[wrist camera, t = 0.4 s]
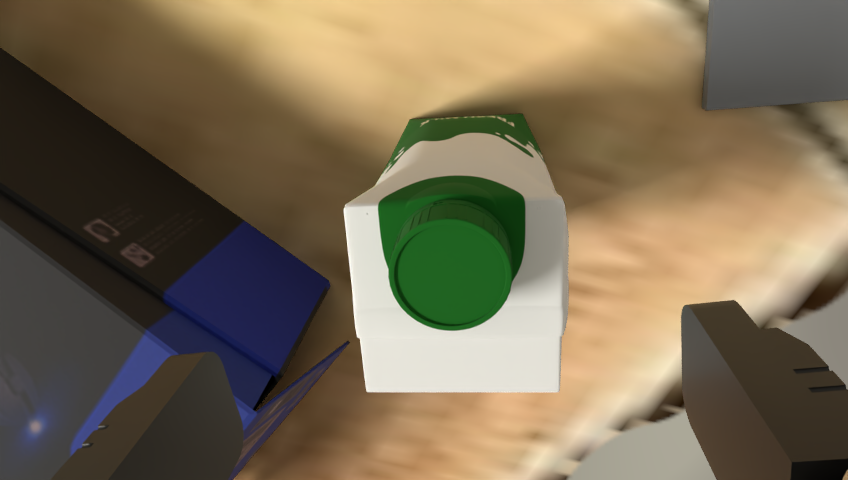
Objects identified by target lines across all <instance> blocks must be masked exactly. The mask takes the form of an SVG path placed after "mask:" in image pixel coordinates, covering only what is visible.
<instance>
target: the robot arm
mask: <svg viewBox="0 0 848 480" xmlns="http://www.w3.org/2000/svg"><path fill="white" fill-rule="evenodd" d="M681 336H682V390H683V398H684V404H685V409H686V413H687V416H688V419H689V422H690V425H691V427H692V429H693V431H694V433H695V435H696V438H697V439H698V442H699V444H700V446H701V448H702V450H703V452H704V454H705V456H706V458H707V460H708V462H709V465H710V467H711V469H712V471H713V473H714V475H715V477H716V479H717V480H848V390H847V389H846V385H845V384H844V383H843V382H842V381H841V379H840V378H839V377H838V376H837V375H836V374H835V373H834V372H833V371H829V367H828V365H827V364H826V363H825V362H824V361H823V360H822V359H821V358H820V357H819V356H818V355H817V353H816V352H815V351H814V350H813V349H812V348H811V347H810V346H809V345H808V344H806V343H804V342H802V341H801V340H799V339H797V338H795V337H793V336H791V335H790V334H788V333H786V332H784V331H782V330H780V329H778V328H769V329H759V328H758V327H757V325H756V324H755V323H754V322H753V320H752V319H751V318H750V317H749V316H748V314H747V313H746V312H745V311H744V309H743V308H742V307H741V306H740V305H739V304H738V303H737V302H736V301H734V300H730V301H720V302H710V303H700V304H690V305H685V306H684V307H683V309H682V315H681ZM243 439H244V432H243V424H242V420H241V417H240V414H239V411H238V408H237V405H236V402H235V399H234V396H233V393H232V390H231V387H230V384H229V381H228V378H227V375H226V372H225V369H224V366H223V364H222V361H221V359H220V357H219V356H218V355H217V354H216V353H214V352H201V353H191V354H181V355H173V356H170V357H168V358H167V359H166V360H165V361H164V362H163V364H162V365H161V366H160V367H159V368H158V369H157V370H156V372H155V373H154V374H153V375H152V376H151V377H150V379H149V380H148V381H147V382H146V383H145V384H144V386H142V387H141V388H139V389H138V390H137V391H135V392H134V393H132V394H131V395H130V396H128V397H127V398H125V399H124V400H123V401H121V402H120V403H118V404H117V405H116V406H115V407H114V408H113V409H112V411H111V412H110V413H109V414H108V415H107V416H106V417H105V418H104V420H103V421H102V422H101V423H100V424H99V425H98V430H94V431H93V432H92V433H91V434H90V435H89V437H88V438H87V439H86V440H85V441H84V442H83V443H82V448H78V449H77V450H76V451H75V452H74V453H73V455H72V456H71V457H70V458H69V459H68V460H67V461H66V463H65V464H64V465H63V466H62V467H61V468H60V469H59V470H58V472H57V473H56V474H55V475H54V476H53V477H52V478H51V479H50V480H228V479H229V477H230V475H231V473H232V471H233V469H234V467H235V465H236V463H237V462H238V460H239V457H240V455H241V452H242V448H243Z"/></svg>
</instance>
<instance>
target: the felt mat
mask: <svg viewBox="0 0 848 480" xmlns="http://www.w3.org/2000/svg"><path fill="white" fill-rule="evenodd" d="M838 100H848V0H709V14H708V28H707V42H706V56H705V70H704V84H703V98H702V109H704V110H719V109H733V108H746V107H759V106H772V105H785V104H798V103H812V102H825V101H838Z"/></svg>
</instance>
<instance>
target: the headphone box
mask: <svg viewBox="0 0 848 480" xmlns="http://www.w3.org/2000/svg"><path fill="white" fill-rule="evenodd" d="M329 287H330V283H329V280H327V279H326V278H324V277H323V276H322V275H320V274H319V273H317V272H316V271H315V270H313V269H312V268H310V267H309V266H307V265H306V264H305V263H303V262H302V261H300V260H299V259H298V258H296V257H295V256H293V255H292V254H291V253H289V252H288V251H286V250H285V249H283V248H282V247H281V246H279V245H278V244H276V243H275V242H274V241H272V240H271V239H269V238H268V237H267V236H265V235H264V234H262V233H261V232H260V231H258V230H257V229H255V228H254V227H252V226H251V225H250V224H248V223H247V222H245V221H244V220H243V219H241V218H240V217H238V216H237V215H236V214H234V213H233V212H231V211H230V210H228V209H227V208H226V207H224V206H223V205H221V204H220V203H219V202H217V201H216V200H214V199H213V198H212V197H210V196H209V195H207V194H206V193H205V192H203V191H202V190H200V189H199V188H197V187H196V186H195V185H193V184H192V183H190V182H189V181H188V180H186V179H185V178H183V177H182V176H181V175H179V174H178V173H176V172H175V171H173V170H172V169H171V168H169V167H168V166H166V165H165V164H164V163H162V162H161V161H159V160H158V159H157V158H155V157H154V156H152V155H151V154H149V153H148V152H147V151H145V150H144V149H142V148H141V147H140V146H138V145H137V144H135V143H134V142H133V141H131V140H130V139H128V138H127V137H126V136H124V135H123V134H121V133H120V132H118V131H117V130H116V129H114V128H113V127H111V126H110V125H109V124H107V123H106V122H104V121H103V120H102V119H100V118H99V117H97V116H96V115H94V114H93V113H92V112H90V111H89V110H87V109H86V108H85V107H83V106H82V105H80V104H79V103H78V102H76V101H75V100H73V99H72V98H71V97H69V96H68V95H66V94H65V93H63V92H62V91H61V90H59V89H58V88H56V87H55V86H54V85H52V84H51V83H49V82H48V81H47V80H45V79H44V78H42V77H41V76H39V75H38V74H37V73H35V72H34V71H32V70H31V69H30V68H28V67H27V66H25V65H24V64H23V63H21V62H20V61H18V60H17V59H15V58H14V57H13V56H11V55H10V54H8V53H7V52H6V51H4V50H3V49H1V48H0V480H50V479H51V478H52V477H53V476H54V475H55V474H56V473H57V472H58V470H59V469H60V468H61V467H62V466H63V465H64V464H65V463H66V461H67V460H68V459H69V458H70V457H71V456H72V455H73V453H74V452H75V451H76V450H77V449H78V448H82V443H83V442H84V441H85V440H86V439H87V438H88V437H89V435H90V434H91V433H92V432H93V431H94V430H98V425H99V424H100V423H101V422H102V421H103V420H104V418H105V417H106V416H107V415H108V414H109V413H110V412H111V411H112V409H113V408H114V407H115V406H116V405H117V404H118V403H120V402H121V401H123V400H124V399H125V398H127V397H128V396H130V395H131V394H132V393H134V392H135V391H137V390H138V389H139V388H141V387H142V386H144V384H145V383H146V382H147V381H148V380H149V379H150V377H151V376H152V375H153V374H154V373H155V372H156V370H157V369H158V368H159V367H160V366H161V365H162V364H163V362H164V361H165V360H166V359H167V358H168V357H170V356H173V355H181V354H191V353H201V352H214V353H216V354H217V355H218V356H219V357H220V359H221V361H222V364H223V366H224V369H225V372H226V375H227V378H228V381H229V384H230V387H231V390H232V393H233V396H234V399H235V402H236V405H237V408H238V411H239V414H240V417H241V420H242V424H243V432H244V439H243V448H242V452H241V455H240V457H239V460H238V462H237V463H236V465H235V467H234V469H233V471H232V473H231V475H230V477H229V479H228V480H233V479H234V478H235V476H236V475H237V474H238V473H239V472H240V471H241V469H242V468H243V467H244V466H245V465H246V463H247V462H248V461H249V460H250V459H251V458H252V456H253V455H254V454H255V453H256V452H257V451H258V449H259V448H260V447H261V446H262V445H263V444H264V442H265V441H266V440H267V439H268V438H269V437H270V435H271V434H272V433H273V432H274V431H275V429H276V428H277V427H278V426H279V425H280V424H281V422H282V421H283V420H284V419H285V418H286V417H287V415H288V414H289V413H290V412H291V411H292V410H293V408H294V407H295V406H296V405H297V404H298V403H299V401H300V400H301V399H302V398H303V397H304V395H305V394H306V393H307V392H308V391H309V390H310V388H311V387H312V386H313V385H314V384H315V383H316V381H317V380H318V379H319V378H320V377H321V376H322V374H323V373H324V372H325V371H326V370H327V369H328V367H329V366H330V365H331V364H332V363H333V361H334V360H335V359H336V358H337V357H338V356H339V354H340V353H341V352H342V351H343V350H344V349H345V347H346V346H347V345H348V344H349V343H350V342H349V341H347V342H346V343H344V344H343V345H342V346H340V347H339V348H338V349H337V350H335V351H334V352H333V353H331V354H330V355H329V356H327V357H326V358H325V359H324V360H322V361H321V362H320V363H318V364H317V365H316V366H315V367H313V368H312V369H311V370H309V371H308V372H307V373H305V374H304V375H303V376H302V377H300V378H299V379H298V380H296V381H295V382H294V383H292V384H291V385H290V386H289V387H287V388H286V389H285V390H283V391H282V392H281V393H280V394H278V395H277V396H276V397H274V398H273V399H272V400H270V401H269V402H268V403H267V404H265V405H264V406H263V407H261V408H260V409H259V410H258V411H256V412H255V410H256V408H257V407H258V406H259V405H260V403H261V402H262V401H263V400H264V399H265V397H266V396H267V395H268V394H269V393H270V391H271V390H272V389H273V388H274V386H275V385H276V384H277V383H278V381H279V380H280V379H281V377H282V376H283V374H284V373H285V371H286V369H287V367H288V365H289V363H290V361H291V359H292V357H293V356H294V354H295V352H296V350H297V348H298V346H299V344H300V342H301V340H302V338H303V337H304V335H305V333H306V331H307V329H308V327H309V325H310V323H311V321H312V320H313V318H314V316H315V314H316V312H317V310H318V308H319V306H320V304H321V302H322V301H323V299H324V297H325V295H326V293H327V291H328V289H329Z"/></svg>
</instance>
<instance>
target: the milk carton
mask: <svg viewBox="0 0 848 480" xmlns="http://www.w3.org/2000/svg"><path fill="white" fill-rule="evenodd" d="M344 219H345V228H346V237H347V247H348V256H349V265H350V275H351V284H352V293H353V309H354V320H355V328H356V335H357V338H360V344H361V352H362V361H363V369H364V378H365V385H366V391H367V392H559V390H560V372H561V342H562V335H563V334H564V331H565V328H566V323H567V316H568V291H569V282H568V238H569V236H568V225H567V217H566V210H565V203H564V201H563V198H562V197H561V196H560V195H558V194H557V193H556V191H555V188H554V185H553V183H552V180H551V177H550V175H549V172H548V170H547V167H546V164H545V162H544V159H543V156H542V154H541V151H540V149H539V147H538V145H537V143H536V141H535V138H534V136H533V134H532V132H531V130H530V128H529V126H528V124H527V122H526V120H525V118H524V116H523V114H507V115H487V116H464V117H446V118H426V119H410V120H409V122H408V124H407V126H406V128H405V130H404V132H403V134H402V136H401V138H400V140H399V142H398V144H397V146H396V148H395V150H394V152H393V154H392V157H391V158H390V160H389V162H388V164H387V165H386V167H385V169H384V171H383V173H382V174H381V176H380V178H379V180H378V181H377V183H376V185H375V186H374V187H372V188H371V189H369V190H368V191H366V192H364V193H363V194H361V195H360V196H358V197H356V198H355V199H353V200H352V201H350V202H348V203H347V204H346V205H345V208H344Z"/></svg>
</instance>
